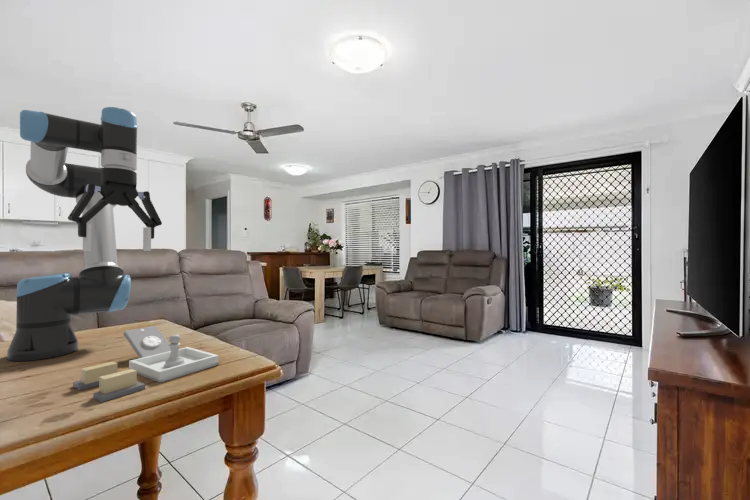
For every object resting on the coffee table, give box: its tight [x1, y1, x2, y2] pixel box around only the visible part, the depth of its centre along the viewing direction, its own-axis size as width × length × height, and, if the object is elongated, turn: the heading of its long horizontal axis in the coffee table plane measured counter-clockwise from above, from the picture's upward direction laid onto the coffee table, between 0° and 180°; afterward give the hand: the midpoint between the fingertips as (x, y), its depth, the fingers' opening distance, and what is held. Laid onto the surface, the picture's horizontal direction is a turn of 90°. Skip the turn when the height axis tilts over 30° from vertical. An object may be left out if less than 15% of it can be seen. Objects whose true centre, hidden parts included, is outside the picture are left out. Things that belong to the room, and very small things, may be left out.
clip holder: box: [72, 361, 146, 403], centre depth 77 cm, size 15×8×4 cm, turn 58°
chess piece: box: [164, 333, 185, 368], centre depth 90 cm, size 5×5×8 cm
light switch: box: [122, 325, 171, 359], centre depth 98 cm, size 8×6×14 cm
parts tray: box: [128, 346, 220, 384], centre depth 90 cm, size 15×15×2 cm
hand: (118, 251), depth 90 cm, fingers open, 13 cm apart
